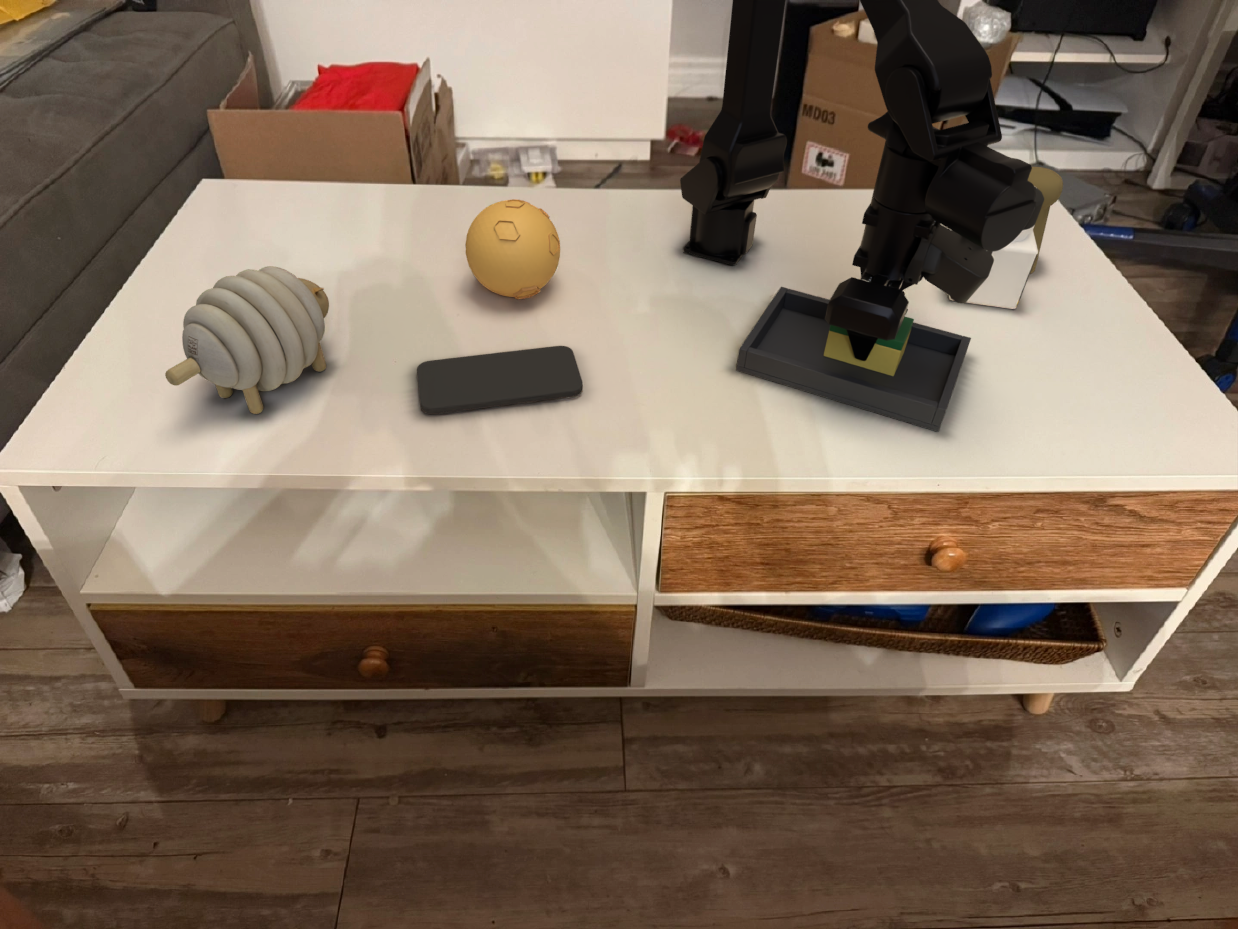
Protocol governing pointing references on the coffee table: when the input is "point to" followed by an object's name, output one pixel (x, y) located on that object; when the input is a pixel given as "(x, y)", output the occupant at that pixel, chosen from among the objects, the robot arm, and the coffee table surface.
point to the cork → (1051, 191)
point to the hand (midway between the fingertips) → (866, 346)
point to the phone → (498, 379)
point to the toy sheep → (253, 333)
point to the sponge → (882, 354)
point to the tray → (795, 358)
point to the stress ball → (513, 248)
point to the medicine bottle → (1010, 267)
